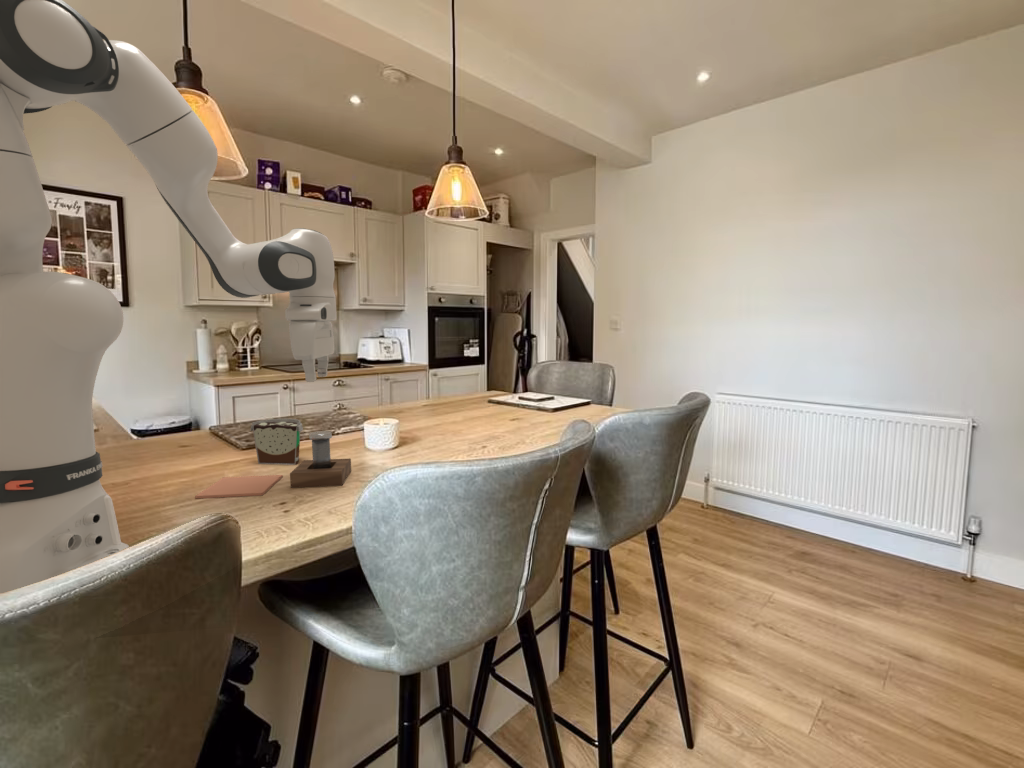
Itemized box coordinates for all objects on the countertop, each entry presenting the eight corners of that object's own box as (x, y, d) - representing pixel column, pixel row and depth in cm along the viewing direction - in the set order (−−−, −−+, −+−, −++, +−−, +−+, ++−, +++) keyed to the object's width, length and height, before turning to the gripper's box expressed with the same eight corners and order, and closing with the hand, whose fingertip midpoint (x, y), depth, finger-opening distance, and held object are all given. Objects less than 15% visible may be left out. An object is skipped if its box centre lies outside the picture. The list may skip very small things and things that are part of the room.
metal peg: (331, 481, 102) (328, 435, 101) (309, 482, 101) (306, 435, 100) (335, 475, 106) (333, 430, 105) (314, 476, 106) (312, 431, 104)
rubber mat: (262, 495, 94) (262, 492, 94) (195, 498, 92) (195, 496, 92) (282, 476, 105) (282, 474, 105) (223, 479, 104) (223, 477, 104)
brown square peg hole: (342, 485, 99) (341, 471, 99) (290, 487, 98) (289, 473, 98) (351, 471, 109) (350, 458, 109) (304, 473, 108) (304, 460, 108)
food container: (314, 458, 121) (312, 418, 120) (301, 464, 115) (299, 423, 114) (267, 457, 122) (265, 417, 121) (252, 463, 116) (249, 422, 115)
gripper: (310, 313, 110) (314, 374, 111) (281, 310, 90) (286, 385, 91) (339, 313, 111) (342, 374, 112) (317, 310, 90) (321, 384, 92)
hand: (317, 379), depth 102 cm, fingers open, 8 cm apart
